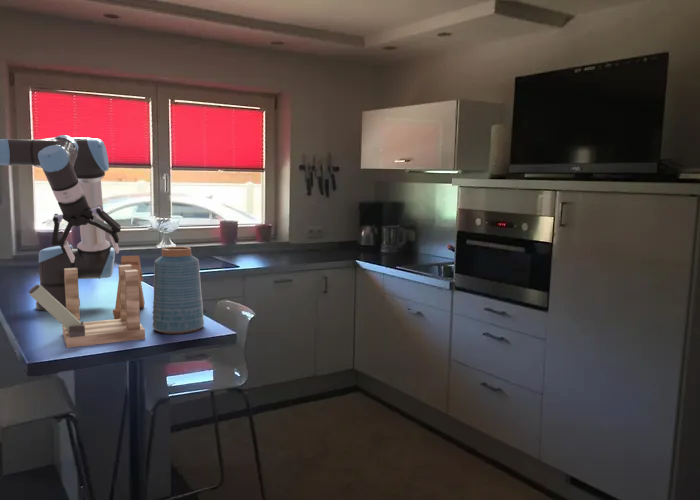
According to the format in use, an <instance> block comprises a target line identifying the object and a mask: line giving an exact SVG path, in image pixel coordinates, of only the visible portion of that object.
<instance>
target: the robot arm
mask: <svg viewBox="0 0 700 500" xmlns="http://www.w3.org/2000/svg"><path fill="white" fill-rule="evenodd" d="M0 166H7V167H8V166H33V167H35V168H41V169H42V171H43V173H44V175H45V177H46V179H47V181H48V184H49V186H50V188H51V191H52V192H53V195H54V197H55V200H56V201H57V204H58V206H59V208H60V211H61V213H62V214H58V213H54V215H53V217H52V221H53V225H54V226H53V232H52V239H51V245H52V246H49V247H46V248H43V249H40V251H39V252H38V269H39V271H38V272H39V285H41V286H42V287H44V288H45V289H46V290H47V291H48V292H49V293H50V294H51V295H52V296H53V297H54V298H55V299H56V300H58V301H59V302H60V303H61V304H62V305H63V306H64V307H65V308H66V298H65V278H64V268H77V269H78V280H87V279H89V280H90V279H91V280H92V279H98V280H100V279H107V278H111V277H112V276H113V273H114V267H115V261H116V260H115V258H116V254H119V252H120V246H119V244H118V243H119V241H120V238H119V235H118V233H120V232H121V229H122V225H120V223H118V222H117V221H116V220H115V219H113V217H111V216H110V215H109V214H108V213H107V212H106V211H105V210H104V204H103V201H104V200H103V191H102V190H103V189H102V179H103V178H104V177H105V176H106V173H105V172H108V171H109V169H110V167H109V166H110V164H109V155H108V152H107V147H106V144H105V143H104V141H103V140H102V139H100V138H92V137H71V136H70V135H66V134H61V135H57V136H55V137H48V138H40V139H39V138H37V139H20V138H19V139H18V138H17V139H15V138H13V139H12V138H1V139H0ZM63 220H64V221H66V222H67V224H66V226H65V229H64V230H63V233H62V234H61V236H60V238H59V231H60V225H61V224H60V223H61V222H62V221H63ZM73 226H74V227H76V228H77V227H79V231H80V234H79V235H80V240H81V241H79V243H77V245H76V247H77V248H74V246H72V244H70V243H69V242H68V240H67V238H68V236H69V234H70V232H71V230H72V229H73ZM106 233H107V234H109V239H110V241H111V243H110V241H108V240H107V239H106ZM111 244H112V247H111ZM80 299H81V298H79V307H80V306H81V300H80ZM35 309H36V310H38V311H43V312H48V311H47V310H46V309H45V308H44V307H43V306H41V305H40V304H39V303H38V302H37V301H36V300H35Z"/></svg>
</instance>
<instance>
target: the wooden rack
mask: <svg viewBox="0 0 700 500" xmlns="http://www.w3.org/2000/svg"><path fill="white" fill-rule="evenodd" d="M64 278H65V298H66V309H67V310H68V311H69V312H71V313H72V314H73V315H74V316H75V317H76V318H77V319H78V320H79V321H80V322H81V324H82V325H81V326H71V327H69V329H70V331H69V330H68V329H67V328H66V327H64V326H63V325H62V324H61V325H62V335H63V340H64V343H65V346H66V348H67V349H68V348H76V347H84V346H93V345H104V344H112V343H120V342H121V343H122V342H129V341H136V340H145V339H146V329H145V327H144V326H143V325H142V324H141V317H140V316H141V315H140V313H141V312H140V309H141V308H139V281H138V271H137V270H132V266H131V265H121V264H118V282H119V295H120V319H114V318H113V319H105V320H104V319H103V320H102V319H101V320H94V321H84V322H83V320H82V321H81V315H80V314H81V313H80V311H81V310H80V306H79V299H80V291H79V290H80V289H79V279H78V269H77V268H64Z"/></svg>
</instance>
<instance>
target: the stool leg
mask: <svg viewBox="0 0 700 500" xmlns="http://www.w3.org/2000/svg"><path fill="white" fill-rule="evenodd" d="M28 293H29V296H31V298H32V299H34V300H35V302H36V301H37V302H38V303H39V304H40V305H41V306H43V307H44V308H45V309H46V310H47V311H46V312H47V313H49V314H50V315H51V316H52V317H54V319H56V320H57V321H58V322H59V323H60V324H61V325H63V326H64V327H66V328H67V329H68V330H69V331H70V329H69V327H71V326H81V325H82V324H81V322H80V321H81V320H80V321H79V320H78V319H77V318H76V317H75V316H74V315H73V314H72V313H71V312H69V311H68V310H67V309H66V308H65V307H64V306H63V305H62V304H61V303H60V302H59V301H58V300H56V299H55V298H54V297H53V296H52V295H51V294H50V293H49V292H48V291H47V290H46V289H45V288H44V287H42V286H41V285H40V284H38V283H37V284H35V285H33V287H31V288H30V290H29V291H28Z"/></svg>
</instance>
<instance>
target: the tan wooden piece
mask: <svg viewBox="0 0 700 500" xmlns="http://www.w3.org/2000/svg"><path fill="white" fill-rule="evenodd" d="M140 259H141V258H140V255H121V259H120V265H131V266H132V270H137V271H138V281H139V309H144V308H145V296H144V292H143V285H142V282H144V278H143V272H142V266H141V260H140ZM112 314H113V319H120V295H119V281H118V283H117V291H116V299H115V308H114V309H112Z"/></svg>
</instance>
